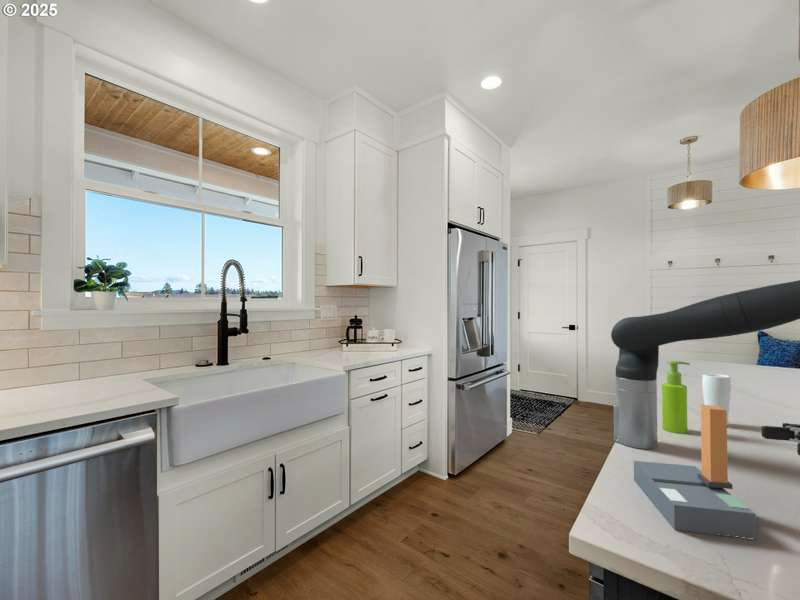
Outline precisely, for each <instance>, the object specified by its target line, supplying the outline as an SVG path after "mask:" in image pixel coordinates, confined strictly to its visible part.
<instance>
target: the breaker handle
mask: <svg viewBox="0 0 800 600" xmlns="http://www.w3.org/2000/svg"><path fill="white" fill-rule="evenodd" d="M700 438H701V441H700V442H701V449H700V451H701V452H700V453H701V471H702V474H699V473H697V478H698V479H700V480H701V481H702V482H703V483H704V484H706V485H707V486H708V487H716V488H723V489H725V490H733V483H731V482H730V481H728V474H729V473H728V426H727V410H725V409H723V408H721V407H719V406H714V405H704V404H701V405H700Z"/></svg>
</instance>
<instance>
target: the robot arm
mask: <svg viewBox="0 0 800 600" xmlns="http://www.w3.org/2000/svg"><path fill="white" fill-rule="evenodd" d="M799 320H800V279H799V280H794V281H789V282H782V283H777V284H771V285H766V286H760V287H755V288H753V289H747V290H741V291H736V292H733V293H732V292H731V293H728V294H724V295H720V296H715V297H711V298H709V299H705V300H702V301H699V302H695V303H692V304H689V305H687V306H683V307H680V308H677V309H674V310H670V311H667V312H661V313H655V314H649V315H643V316H642V315H641V316H630V317H625V318H622V319H620V320H619V321H617V322H616V323H615V325H614V326H613V327H612V330H611V334H610V336H611V340H612V341H611V342H612V343H613V344H614V345H615V346H616V347H617V348H618V349H619V350H618V360H617V363H616V366H615V404H614V405H613V441H614V442H617V443H620V444H622V445H624V446H627V447H632V448H636V449H643V450H644V449H646V450H649V449H650V450H652V449H656V448H657V447H658V385H657V382H658V380H657V378H658V376H657V375H658V374H657V373H658V369H659V353H660V351H659V350H660V349H659V347H660V346H663V345H667V344H671V343H672V344H673V343H676V342H684V341H693V340H694V341H695V340H706V339H707V340H708V339H715V338H716V339H717V338H725V337H731V336H732V337H733V336H738V335H744V334H750V333H755V332H761V331H765V330H768V329H771V328H775V327H779V326H782V325H786V324H788V323H791V322H794V321H799ZM781 425H782V426H773V425H763V426H761V437H762V438H764V439H766V440H775V441H786V442H787V441H788V442H794V443H797V446H796V447H797V448H796V449H797V450H796V451H797V455H798V456H800V424H799V423H787V422H782V424H781ZM795 432H797V434H796V433H795ZM618 436H619V437H618ZM617 439H618V440H617ZM616 440H617V441H616Z"/></svg>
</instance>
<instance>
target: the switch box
mask: <svg viewBox="0 0 800 600" xmlns="http://www.w3.org/2000/svg"><path fill="white" fill-rule="evenodd" d="M697 473H699V474H702V469H700V468H699V467H697V466H696V465H688V464H675V463H664V462H652V461H640V460H633V481H634V482H635V484H636V485H637V486H638V487H639V488H640V489H641V491H642V492H643V493H644V494H645V495H646V497H647V498H648V499H649V501H650V502H651V503H652V504H653V505H654V507H655V508H656V509H657V510H658V511H659V513H660V514H661V515H662V517H663V518H664V519H665V520H666V521H667V522H668V523H669V525H670V526H671V528H672V529H673V528H674V529H673V530H674V531H680V530H682V531H681V532H688V531H690V532H689V533H697V532H698V534H705V533H708V534H707V535H713V534H718V535H717V536H721V535H727V536H726V537H729V536H738V537H745V538H744V539H746V538H754V539H756V536H757V535H756V512H754V511H753V510H751V509H750V508H749V507H748V506H746V505H745V504H744V503H742V502H741V501H740V500H739V499H738V498H736V497H735V496H733V495H732V494H731V493H729V491H727V489H726V488H716V487H708V486H707V485H706V484H704V483H703V482H702V481H701V480H700V479H698V478H697ZM675 529H676V530H675ZM699 532H700V533H699ZM719 534H720V535H719ZM728 535H729V536H728ZM754 539H753V540H754ZM756 540H757V539H756Z"/></svg>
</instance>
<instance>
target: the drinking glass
mask: <svg viewBox="0 0 800 600" xmlns="http://www.w3.org/2000/svg"><path fill="white" fill-rule="evenodd" d="M731 382H732V381H731V376H730V375H728V374H727V375H726V374H720V373H702V377H701V386H702V387H701V388H702V397H703V405H714V406H719V407H721V408H723V409H725V410H727V427H728V426H729V412H730V403H731V391H732V383H731Z"/></svg>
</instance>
